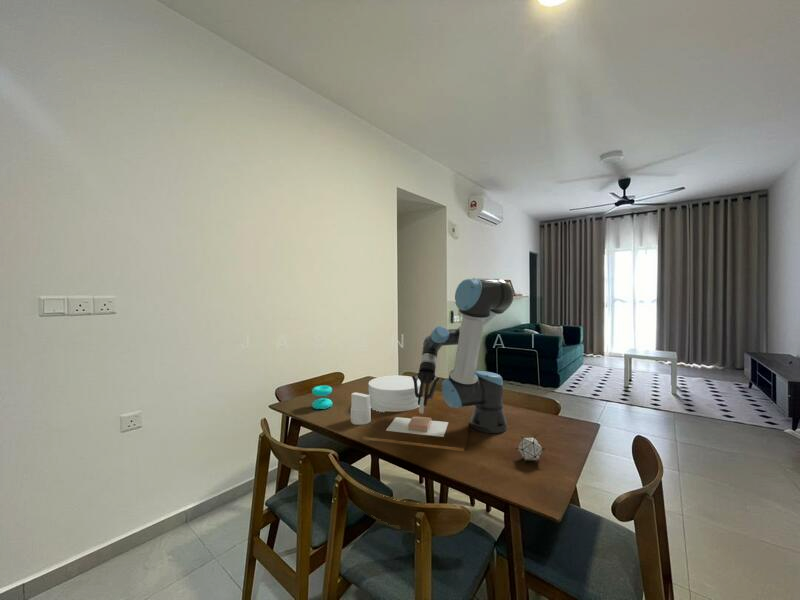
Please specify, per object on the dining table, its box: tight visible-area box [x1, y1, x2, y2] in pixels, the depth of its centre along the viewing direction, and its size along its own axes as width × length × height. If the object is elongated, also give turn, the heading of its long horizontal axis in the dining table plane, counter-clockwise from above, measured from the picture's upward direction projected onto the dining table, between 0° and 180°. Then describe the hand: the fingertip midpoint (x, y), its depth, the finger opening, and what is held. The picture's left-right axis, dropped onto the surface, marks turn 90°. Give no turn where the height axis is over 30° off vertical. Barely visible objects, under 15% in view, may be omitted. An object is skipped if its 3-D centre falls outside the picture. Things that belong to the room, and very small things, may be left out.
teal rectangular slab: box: [408, 415, 432, 432], centre depth 140 cm, size 8×2×9 cm
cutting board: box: [385, 416, 449, 438], centre depth 140 cm, size 24×15×1 cm, turn 74°
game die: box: [514, 434, 546, 463], centre depth 113 cm, size 9×8×10 cm
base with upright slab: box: [350, 392, 372, 426], centre depth 150 cm, size 9×9×12 cm
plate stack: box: [368, 375, 421, 414], centre depth 172 cm, size 28×28×12 cm
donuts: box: [311, 385, 333, 410], centre depth 168 cm, size 10×10×10 cm
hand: (420, 412), depth 142 cm, fingers closed
